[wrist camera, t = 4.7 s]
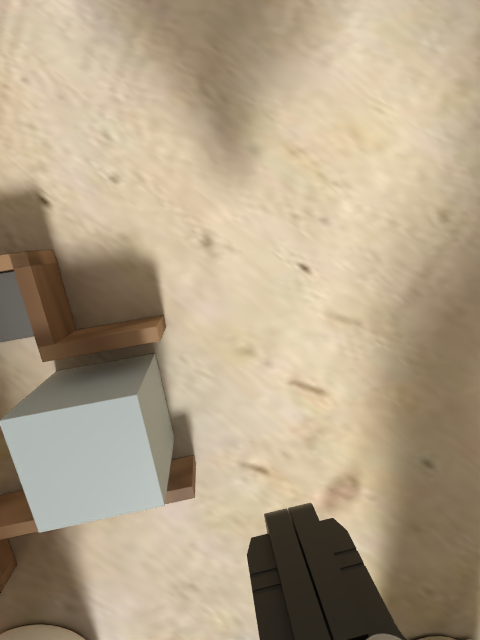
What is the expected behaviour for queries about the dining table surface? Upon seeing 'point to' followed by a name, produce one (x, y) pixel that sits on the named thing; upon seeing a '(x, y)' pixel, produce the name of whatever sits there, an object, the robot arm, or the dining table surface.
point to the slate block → (92, 443)
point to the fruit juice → (40, 633)
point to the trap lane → (63, 342)
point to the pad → (12, 310)
